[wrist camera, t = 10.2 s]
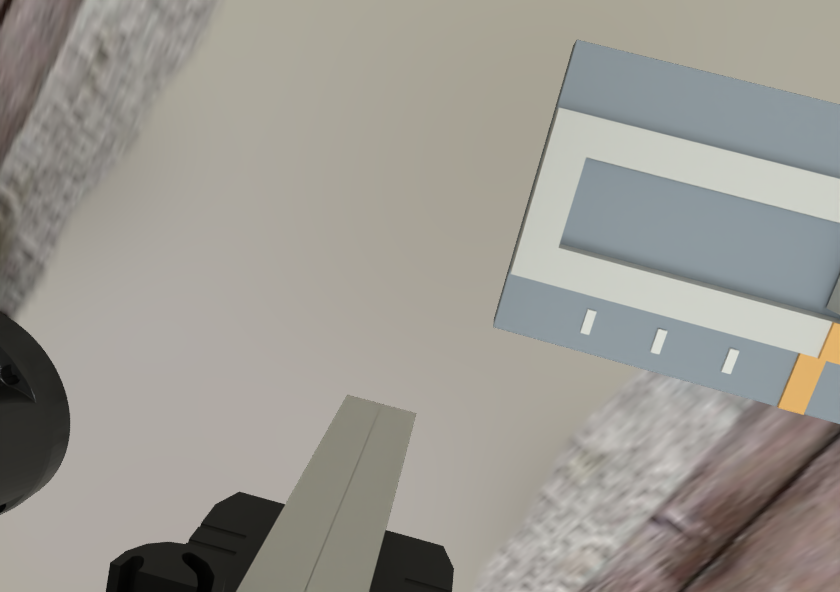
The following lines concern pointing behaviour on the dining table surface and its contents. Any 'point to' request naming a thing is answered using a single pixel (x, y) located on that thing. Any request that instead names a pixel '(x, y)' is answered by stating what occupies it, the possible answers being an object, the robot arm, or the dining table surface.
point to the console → (686, 230)
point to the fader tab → (835, 299)
